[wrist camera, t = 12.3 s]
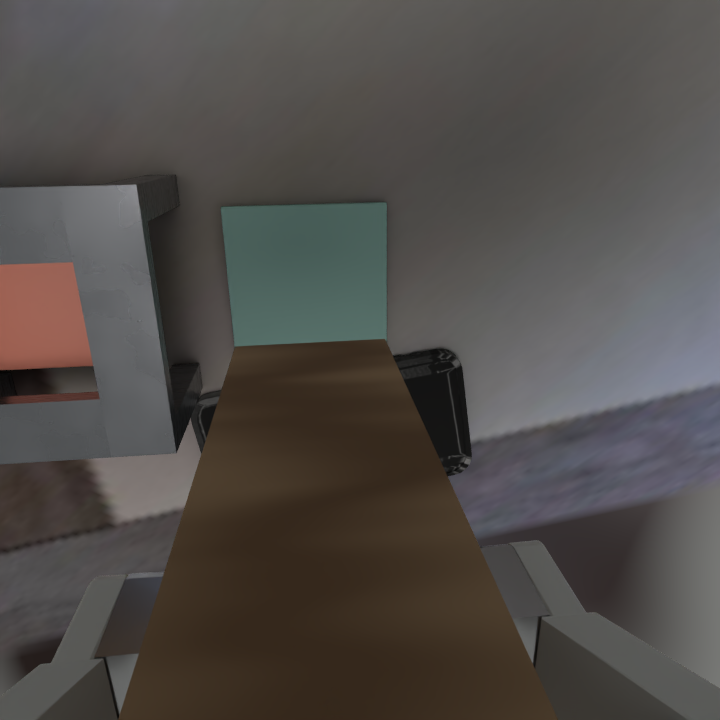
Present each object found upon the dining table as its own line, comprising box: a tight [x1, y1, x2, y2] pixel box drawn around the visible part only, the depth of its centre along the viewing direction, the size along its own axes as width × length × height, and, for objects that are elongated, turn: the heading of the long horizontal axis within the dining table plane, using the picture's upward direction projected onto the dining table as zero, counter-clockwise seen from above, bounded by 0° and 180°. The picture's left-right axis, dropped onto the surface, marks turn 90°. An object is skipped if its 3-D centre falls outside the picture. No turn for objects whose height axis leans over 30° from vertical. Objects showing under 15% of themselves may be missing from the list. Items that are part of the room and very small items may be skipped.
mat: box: [221, 202, 387, 346], centre depth 29 cm, size 8×8×1 cm
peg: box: [118, 339, 558, 720], centre depth 9 cm, size 4×4×14 cm
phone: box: [191, 349, 472, 476], centre depth 32 cm, size 8×1×15 cm
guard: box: [0, 175, 202, 464], centre depth 25 cm, size 11×11×7 cm
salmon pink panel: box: [0, 262, 93, 370], centre depth 26 cm, size 5×5×2 cm
